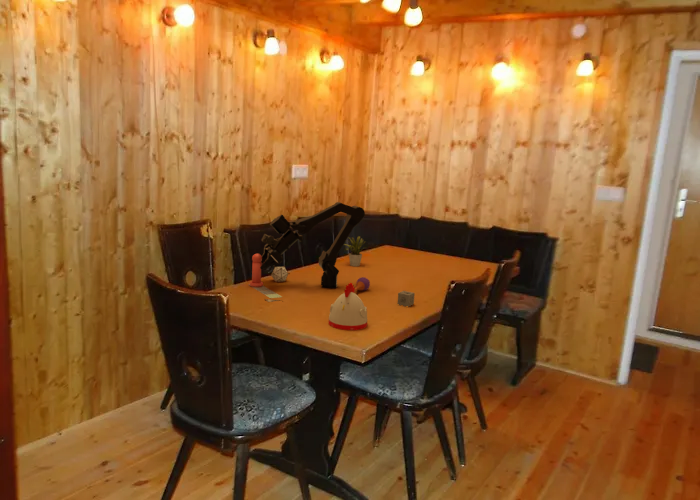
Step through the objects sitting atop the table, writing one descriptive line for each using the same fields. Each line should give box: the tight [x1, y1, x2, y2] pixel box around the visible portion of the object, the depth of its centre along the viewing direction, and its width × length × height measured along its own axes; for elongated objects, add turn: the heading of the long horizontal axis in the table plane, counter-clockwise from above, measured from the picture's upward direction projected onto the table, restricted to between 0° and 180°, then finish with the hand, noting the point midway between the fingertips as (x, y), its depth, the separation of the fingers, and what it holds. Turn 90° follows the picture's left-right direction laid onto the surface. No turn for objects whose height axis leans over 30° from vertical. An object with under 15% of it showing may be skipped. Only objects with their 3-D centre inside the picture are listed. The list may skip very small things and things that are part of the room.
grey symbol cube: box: [396, 290, 416, 308], centre depth 232 cm, size 5×5×5 cm
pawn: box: [249, 253, 264, 288], centre depth 244 cm, size 6×6×14 cm
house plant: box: [343, 235, 368, 267], centre depth 304 cm, size 14×14×16 cm
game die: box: [269, 265, 291, 283], centre depth 256 cm, size 9×8×10 cm
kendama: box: [354, 276, 371, 294], centre depth 245 cm, size 6×6×20 cm
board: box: [248, 284, 283, 303], centre depth 238 cm, size 27×9×1 cm, turn 32°
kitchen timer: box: [328, 282, 368, 331], centre depth 201 cm, size 14×14×15 cm
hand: (259, 266), depth 244 cm, fingers open, 9 cm apart
